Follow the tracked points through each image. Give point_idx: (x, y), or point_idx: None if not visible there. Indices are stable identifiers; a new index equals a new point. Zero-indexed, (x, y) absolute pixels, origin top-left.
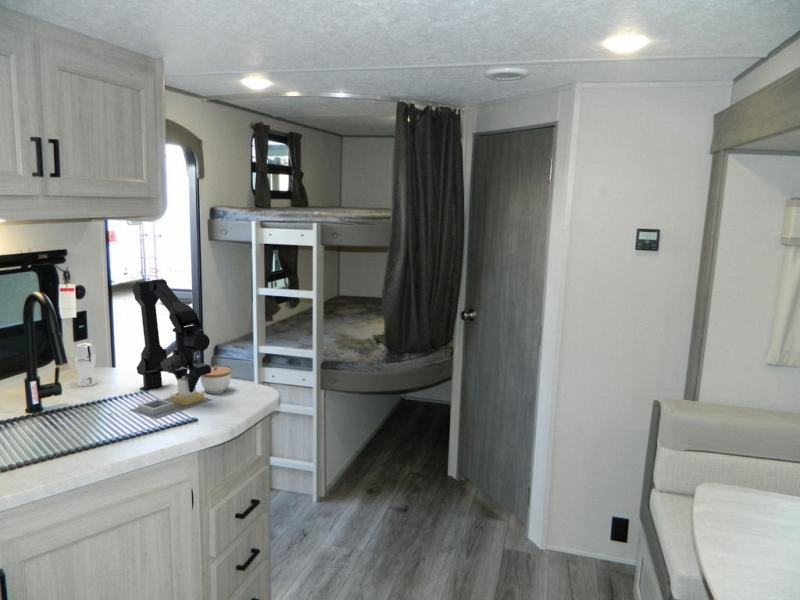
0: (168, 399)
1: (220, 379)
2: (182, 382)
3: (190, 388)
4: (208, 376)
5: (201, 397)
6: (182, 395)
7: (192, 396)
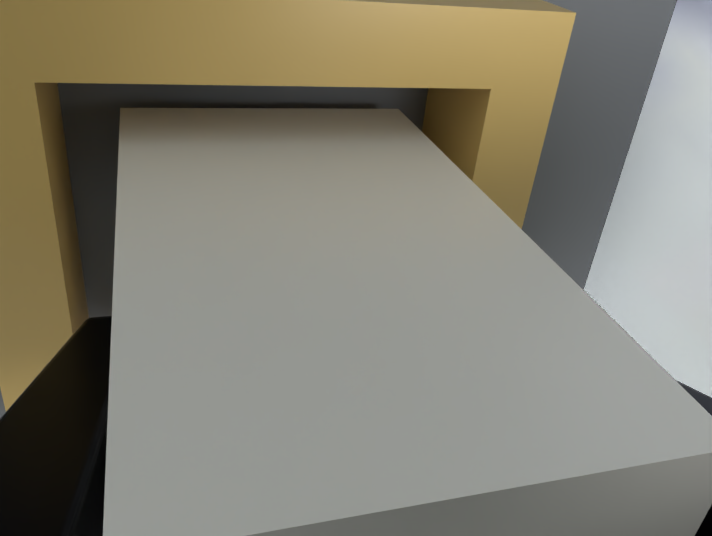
0: (599, 20)
1: None
2: (358, 407)
3: (25, 391)
4: None
5: None
6: (278, 150)
7: (11, 262)
